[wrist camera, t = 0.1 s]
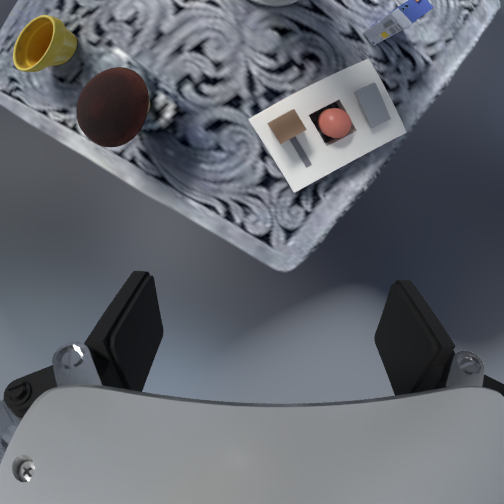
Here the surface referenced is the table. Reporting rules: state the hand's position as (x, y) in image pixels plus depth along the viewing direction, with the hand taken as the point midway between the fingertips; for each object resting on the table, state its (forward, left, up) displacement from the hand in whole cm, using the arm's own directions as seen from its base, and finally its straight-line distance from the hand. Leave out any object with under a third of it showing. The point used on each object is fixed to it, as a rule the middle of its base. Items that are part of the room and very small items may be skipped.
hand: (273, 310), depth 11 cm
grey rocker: (0, +18, -33) cm, 38 cm away
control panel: (0, +12, -37) cm, 39 cm away
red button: (0, +12, -34) cm, 36 cm away
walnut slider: (-3, +5, -34) cm, 35 cm away
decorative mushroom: (-19, -12, -37) cm, 43 cm away
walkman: (-11, +29, -37) cm, 49 cm away
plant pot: (-41, -18, -37) cm, 58 cm away
